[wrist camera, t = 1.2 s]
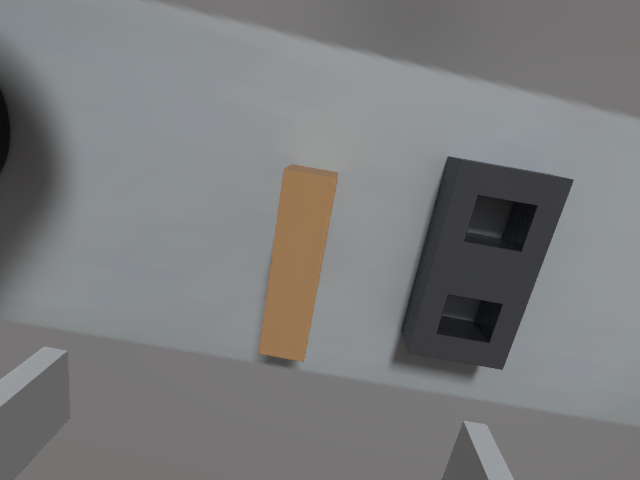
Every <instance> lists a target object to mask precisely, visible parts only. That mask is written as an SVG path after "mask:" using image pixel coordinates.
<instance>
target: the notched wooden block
mask: <svg viewBox="0 0 640 480" xmlns="http://www.w3.org/2000/svg"><path fill="white" fill-rule="evenodd" d="M337 179H338V172H332V171H327V170H321V169H315V168H310V167H304V166H298V165H293V164H291V165H289V166H288V167H286V168H285V169H284V173H283V181H282V188H281V195H280V202H279V209H278V216H277V224H276V231H275V238H274V245H273V252H272V260H271V267H270V274H269V281H268V288H267V296H266V303H265V310H264V317H263V324H262V331H261V339H260V346H259V353H258V354H263V355H268V356H274V357H280V358H285V359H291V360H296V361H302V362H304V359H305V353H306V348H307V342H308V337H309V331H310V326H311V321H312V315H313V310H314V304H315V299H316V293H317V288H318V282H319V277H320V271H321V266H322V261H323V255H324V250H325V244H326V239H327V233H328V228H329V222H330V217H331V211H332V206H333V201H334V195H335V190H336V184H337Z"/></svg>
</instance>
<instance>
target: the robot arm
mask: <svg viewBox="0 0 640 480" xmlns="http://www.w3.org/2000/svg"><path fill="white" fill-rule="evenodd" d="M8 146H9V122H8V115H7V111H6V106H5V103H4V100H3V97H2V94H1V92H0V171H1V169H2V167H3V164H4V162H5V159H6V156H7V152H8ZM69 419H70V401H69V376H68V351H66V350H61V349H55V348H49V347H43V348H42V349H40V350H39V351H38V352H36V353H35V354H34V355H32V356H31V357H30V358H28V359H27V360H26V361H24V362H23V363H22V364H21V365H19V366H18V367H17V368H15V369H14V370H12V371H11V372H10V373H9V374H7V375H6V376H5V377H3V378H2V379H1V380H0V480H14V479H15V478H16V477H17V476H18V475H19V473H20V472H21V471H22V470H23V469H24V468H25V467H26V466H27V465H28V464H29V462H30V461H31V460H32V459H33V458H34V457H35V456H36V455H37V454H38V453H39V452H40V450H41V449H42V448H43V447H44V446H45V445H46V444H47V443H48V442H49V441H50V439H52V437H53V436H54V435H55V434H56V433H57V432H58V431H59V429H61V428H62V426H63V425H64V424H65V423H66V422H67V421H68V420H69ZM442 480H514V479H513V477H512V475H511V473H510V471H509V469H508V467H507V465H506V463H505V461H504V459H503V457H502V455H501V453H500V451H499V449H498V447H497V445H496V443H495V441H494V439H493V437H492V435H491V434H490V431H489V429H488V427H487V425H485V424H480V423H473V422H468V421H463V423H462V426H461V429H460V431H459V434H458V437H457V440H456V442H455V445H454V448H453V451H452V453H451V456H450V459H449V462H448V464H447V467H446V470H445V473H444V475H443V478H442Z"/></svg>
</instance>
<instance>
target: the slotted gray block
mask: <svg viewBox="0 0 640 480" xmlns="http://www.w3.org/2000/svg"><path fill="white" fill-rule="evenodd" d="M572 183H573V179H568V178H563V177H559V176H554V175H550V174H545V173H539V172H533V171H528V170H522V169H517V168H511V167H505V166H500V165H494V164H489V163H483V162H477V161H472V160H466V159H460V158H455V157H449V156H448V159H447V162H446V166H445V170H444V173H443V177H442V181H441V185H440V188H439V192H438V196H437V200H436V203H435V207H434V211H433V215H432V218H431V222H430V226H429V229H428V233H427V237H426V241H425V244H424V248H423V252H422V256H421V259H420V263H419V267H418V271H417V274H416V278H415V282H414V285H413V289H412V293H411V297H410V300H409V304H408V308H407V312H406V315H405V319H404V323H403V327H402V330H401V331H402V335H403V338H404V341H405V344H406V348H407V351H408V353H412V354H417V355H423V356H428V357H434V358H440V359H445V360H451V361H456V362H462V363H467V364H473V365H479V366H484V367H490V368H495V369H501V370H503V367H504V365H505V362H506V359H507V357H508V354H509V351H510V349H511V346H512V343H513V341H514V338H515V335H516V333H517V330H518V327H519V325H520V322H521V319H522V317H523V314H524V311H525V309H526V306H527V303H528V301H529V298H530V295H531V293H532V290H533V287H534V285H535V282H536V279H537V277H538V274H539V271H540V269H541V266H542V263H543V261H544V258H545V255H546V253H547V250H548V247H549V245H550V242H551V239H552V237H553V234H554V231H555V229H556V226H557V223H558V221H559V218H560V215H561V212H562V210H563V207H564V204H565V202H566V199H567V196H568V194H569V191H570V188H571V186H572ZM478 195H482V196H488V197H493V198H499V199H504V200H510V201H514V204H513V207H512V210H511V213H510V216H509V219H508V222H507V225H506V228H505V231H504V234H503V237H502V239H501V238H496V237H490V236H485V235H479V234H473V233H468V232H467V230H468V226H469V223H470V220H471V216H472V213H473V210H474V206H475V203H476V200H477V196H478ZM448 294H450V295H456V296H461V297H467V298H472V299H478V300H481V303H480V306H479V309H478V312H477V315H476V318H475V321H474V322H473V321H467V320H462V319H456V318H450V317H445V316H442V313H443V309H444V306H445V303H446V300H447V296H448Z"/></svg>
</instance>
